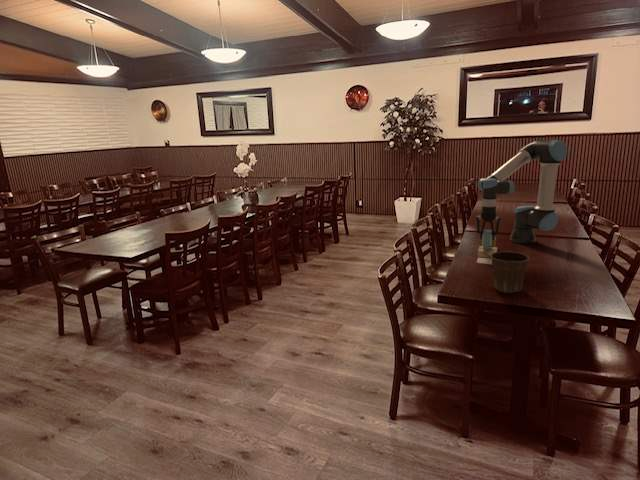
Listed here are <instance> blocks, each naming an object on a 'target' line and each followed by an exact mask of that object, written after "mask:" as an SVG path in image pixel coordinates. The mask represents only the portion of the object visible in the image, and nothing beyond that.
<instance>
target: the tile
mask: <svg viewBox="0 0 640 480" xmlns="http://www.w3.org/2000/svg"><path fill="white" fill-rule="evenodd" d="M476 264H479V265H481V264H482V265H491V266H493V265H492V258H483V257H477V260H476Z"/></svg>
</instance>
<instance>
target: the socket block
mask: <svg viewBox="0 0 640 480" xmlns="http://www.w3.org/2000/svg"><path fill="white" fill-rule="evenodd" d="M495 252H498V247H496V246H495V247H490V250H483V246H480V245H479V246H478V249H477V258H489V259H492V258H491V254H492V253H495Z"/></svg>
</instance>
